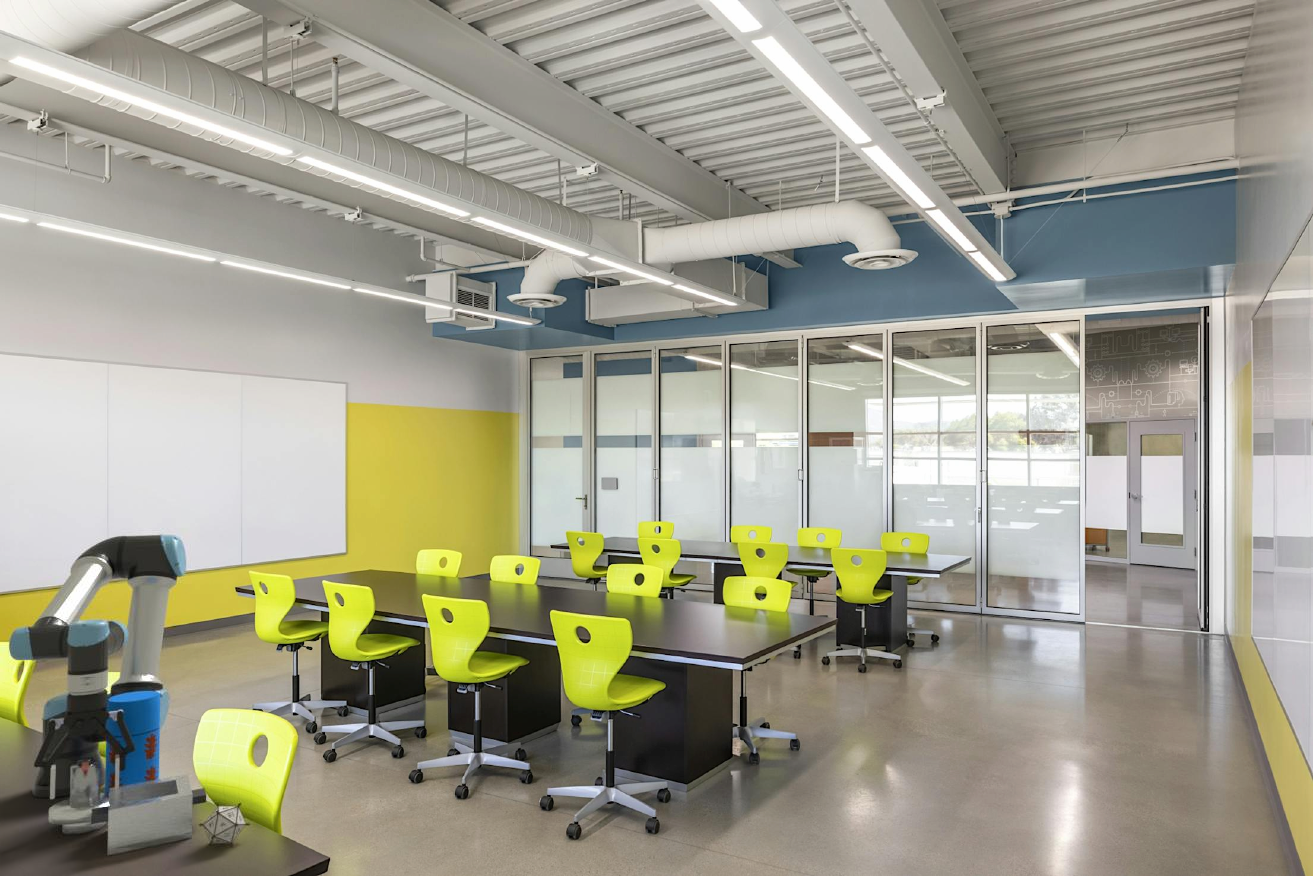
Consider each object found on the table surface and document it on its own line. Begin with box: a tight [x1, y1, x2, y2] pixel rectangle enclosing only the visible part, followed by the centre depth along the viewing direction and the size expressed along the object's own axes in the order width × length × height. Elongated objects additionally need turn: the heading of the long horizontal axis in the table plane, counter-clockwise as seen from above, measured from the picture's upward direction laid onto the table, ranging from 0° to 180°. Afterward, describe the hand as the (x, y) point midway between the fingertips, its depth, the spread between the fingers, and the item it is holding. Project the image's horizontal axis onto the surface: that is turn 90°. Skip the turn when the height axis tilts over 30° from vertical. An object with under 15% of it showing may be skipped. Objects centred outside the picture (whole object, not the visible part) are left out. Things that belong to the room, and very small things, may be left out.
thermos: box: [104, 691, 161, 793], centre depth 198 cm, size 11×11×25 cm
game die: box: [198, 802, 251, 848], centre depth 174 cm, size 9×8×10 cm
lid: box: [48, 758, 109, 835], centre depth 185 cm, size 13×13×14 cm
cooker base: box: [91, 774, 207, 856], centre depth 180 cm, size 15×21×9 cm
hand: (85, 791), depth 185 cm, fingers open, 11 cm apart
